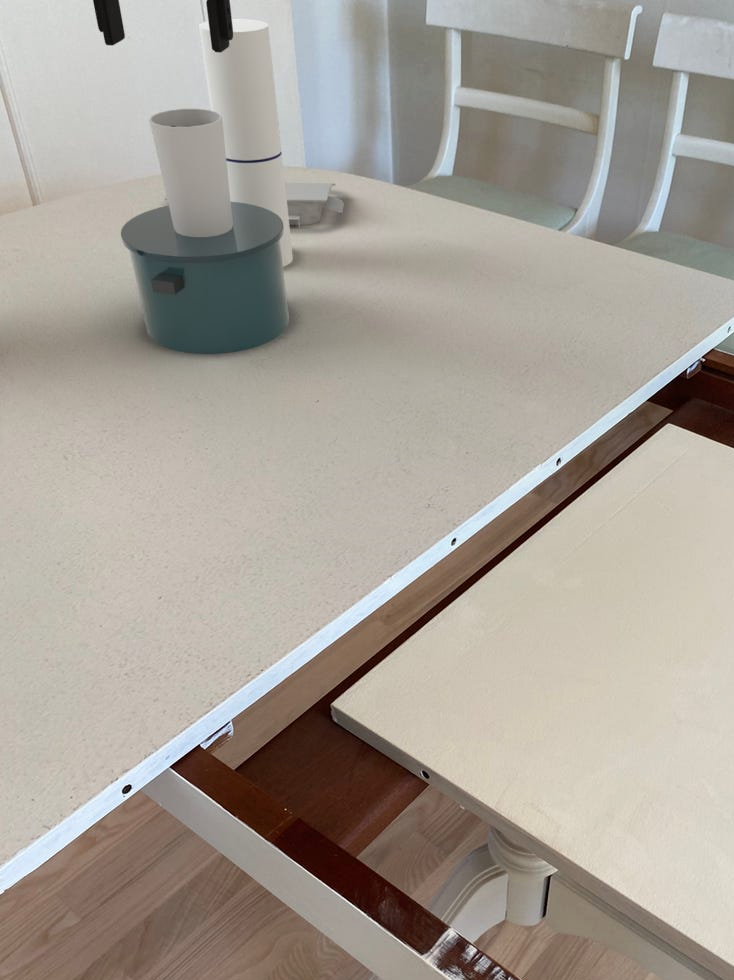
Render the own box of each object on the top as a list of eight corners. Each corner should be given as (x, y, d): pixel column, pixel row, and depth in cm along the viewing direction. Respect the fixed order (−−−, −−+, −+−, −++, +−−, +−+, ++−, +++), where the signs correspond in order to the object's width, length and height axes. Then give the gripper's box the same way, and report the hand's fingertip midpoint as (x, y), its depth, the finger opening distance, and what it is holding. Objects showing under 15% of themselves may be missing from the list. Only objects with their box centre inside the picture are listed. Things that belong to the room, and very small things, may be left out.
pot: (107, 354, 100) (81, 250, 93) (192, 286, 113) (175, 190, 106) (251, 376, 97) (235, 270, 90) (321, 303, 110) (312, 206, 103)
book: (338, 235, 126) (335, 204, 124) (158, 234, 125) (152, 202, 123) (345, 196, 138) (343, 167, 135) (181, 195, 137) (175, 165, 134)
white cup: (207, 243, 95) (188, 131, 88) (155, 230, 97) (133, 120, 90) (251, 223, 99) (236, 115, 92) (200, 211, 101) (182, 105, 95)
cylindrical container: (250, 279, 115) (216, 34, 98) (224, 260, 119) (187, 22, 102) (303, 267, 118) (280, 27, 101) (276, 248, 122) (249, 16, 106)
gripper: (0, -213, 73) (57, 48, 85) (226, -200, 73) (252, 61, 84) (42, -213, 79) (90, 31, 90) (252, -202, 78) (273, 43, 90)
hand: (168, 45), depth 87 cm, fingers open, 9 cm apart
